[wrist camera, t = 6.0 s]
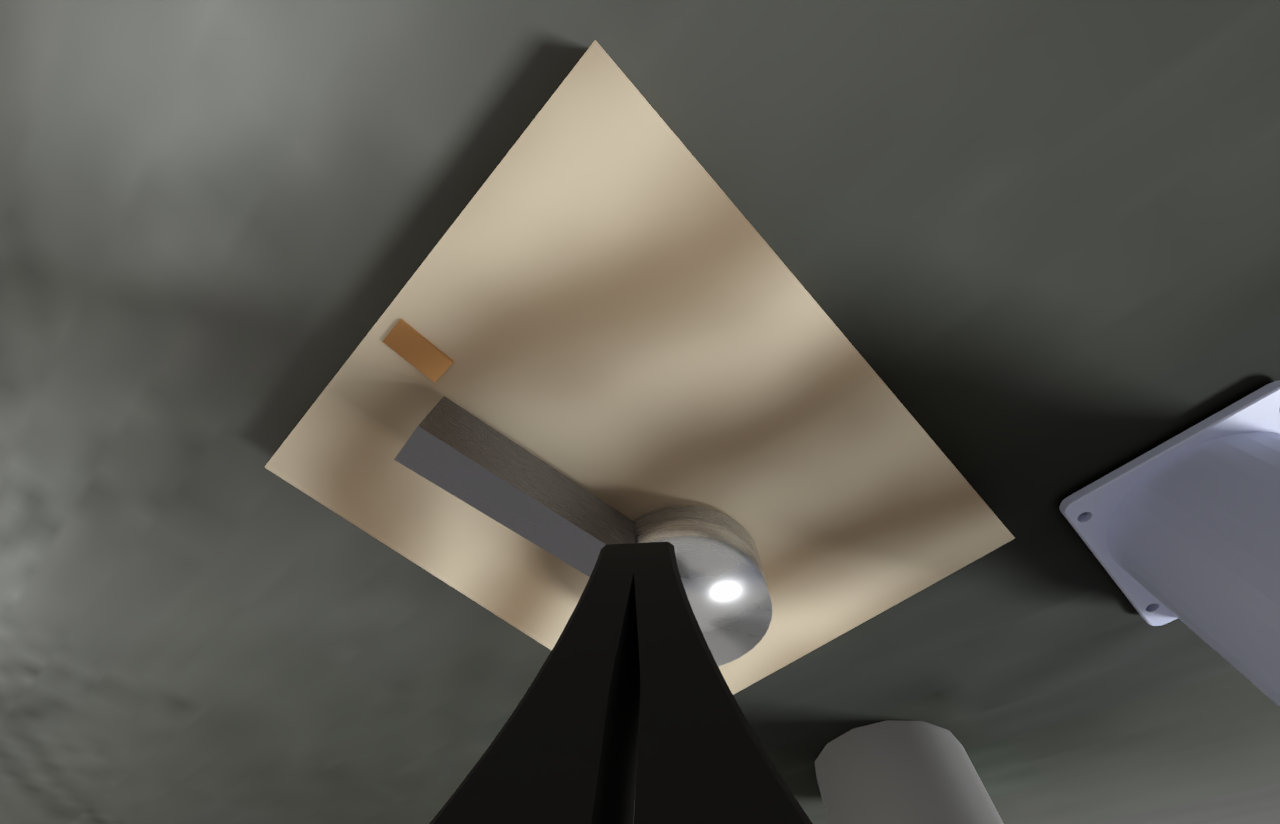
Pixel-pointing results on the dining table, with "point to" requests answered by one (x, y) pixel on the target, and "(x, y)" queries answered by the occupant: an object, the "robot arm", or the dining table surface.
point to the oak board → (637, 389)
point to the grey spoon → (596, 523)
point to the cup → (901, 777)
